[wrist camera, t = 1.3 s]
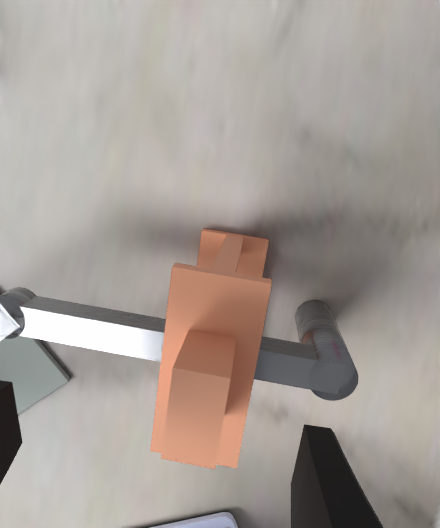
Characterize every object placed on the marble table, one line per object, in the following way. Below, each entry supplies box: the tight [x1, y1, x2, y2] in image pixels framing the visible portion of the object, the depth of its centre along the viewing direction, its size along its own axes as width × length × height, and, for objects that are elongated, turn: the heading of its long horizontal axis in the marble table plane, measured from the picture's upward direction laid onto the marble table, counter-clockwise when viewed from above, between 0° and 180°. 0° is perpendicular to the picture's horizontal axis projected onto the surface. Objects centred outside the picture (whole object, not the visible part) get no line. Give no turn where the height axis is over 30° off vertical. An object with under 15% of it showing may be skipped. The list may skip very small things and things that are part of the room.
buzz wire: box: [0, 288, 358, 401], centre depth 19 cm, size 8×24×6 cm, turn 110°
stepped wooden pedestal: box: [150, 228, 272, 469], centre depth 16 cm, size 3×7×10 cm, turn 172°
